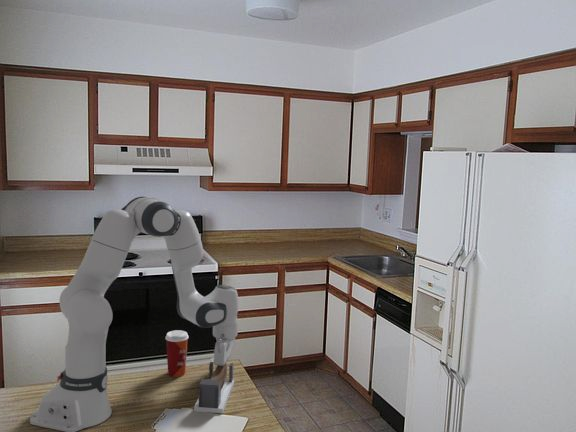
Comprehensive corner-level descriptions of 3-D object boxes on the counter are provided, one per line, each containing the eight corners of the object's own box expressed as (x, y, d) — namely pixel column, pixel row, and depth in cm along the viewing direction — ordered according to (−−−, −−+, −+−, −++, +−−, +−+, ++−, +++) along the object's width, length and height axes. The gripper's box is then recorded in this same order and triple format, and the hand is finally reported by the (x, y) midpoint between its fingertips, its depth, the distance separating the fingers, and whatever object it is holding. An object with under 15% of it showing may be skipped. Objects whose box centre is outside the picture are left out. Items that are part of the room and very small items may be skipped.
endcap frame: (193, 411, 153) (194, 383, 152) (208, 382, 173) (209, 357, 172) (222, 413, 153) (223, 385, 151) (234, 383, 172) (234, 359, 171)
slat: (209, 395, 160) (209, 381, 160) (218, 376, 174) (218, 363, 174) (218, 396, 160) (218, 381, 159) (226, 377, 174) (227, 363, 173)
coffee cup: (185, 379, 175) (186, 338, 173) (162, 378, 175) (162, 337, 173) (190, 368, 183) (190, 329, 181) (168, 368, 183) (168, 329, 181)
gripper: (228, 341, 165) (227, 380, 167) (238, 321, 185) (237, 356, 187) (209, 340, 166) (209, 379, 167) (222, 320, 186) (221, 355, 188)
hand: (224, 367), depth 177 cm, fingers closed
